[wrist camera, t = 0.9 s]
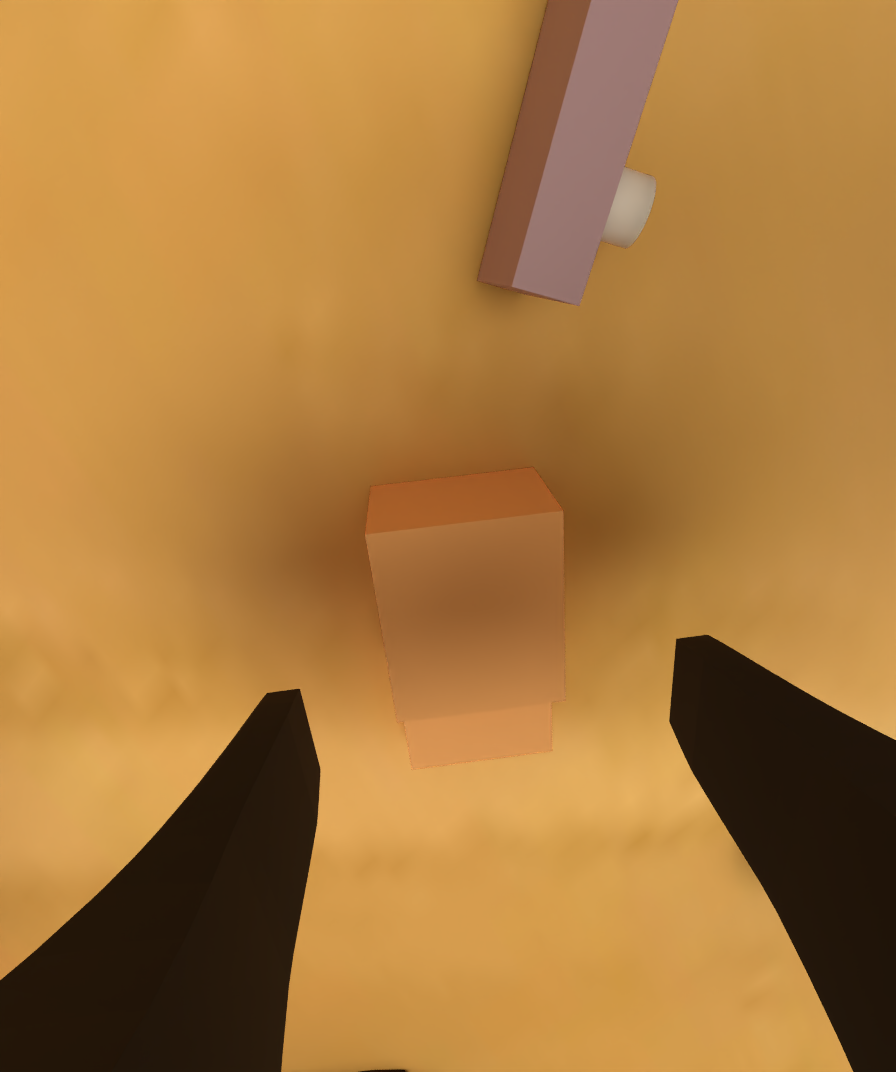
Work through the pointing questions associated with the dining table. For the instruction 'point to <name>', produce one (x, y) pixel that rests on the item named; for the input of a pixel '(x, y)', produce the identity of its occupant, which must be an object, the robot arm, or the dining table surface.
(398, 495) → the orange brown block
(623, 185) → the door
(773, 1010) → the dining table surface
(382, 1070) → the manual coffee grinder
